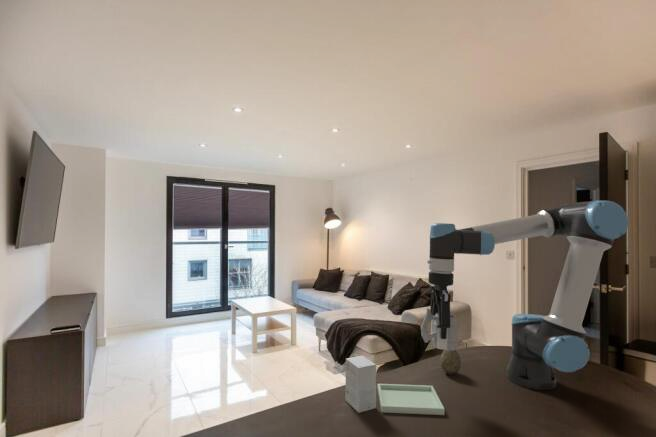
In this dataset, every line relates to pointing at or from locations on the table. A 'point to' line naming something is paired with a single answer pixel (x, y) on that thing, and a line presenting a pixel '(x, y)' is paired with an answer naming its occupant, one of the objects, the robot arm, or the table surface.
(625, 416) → the table surface
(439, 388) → the table surface
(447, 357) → the decorative egg
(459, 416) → the table surface
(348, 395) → the small box
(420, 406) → the tray
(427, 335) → the mug
